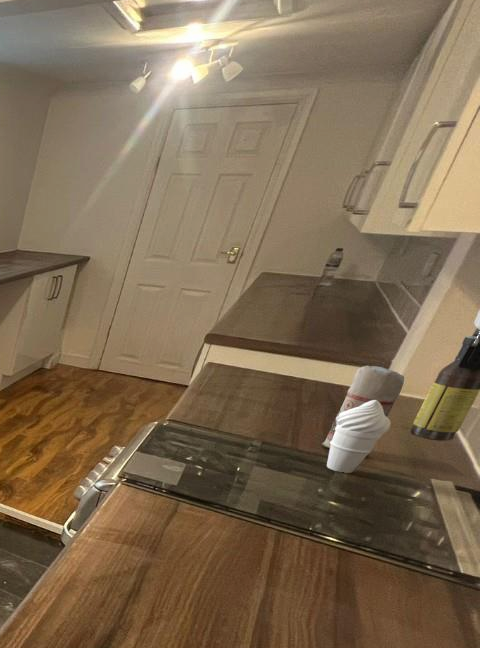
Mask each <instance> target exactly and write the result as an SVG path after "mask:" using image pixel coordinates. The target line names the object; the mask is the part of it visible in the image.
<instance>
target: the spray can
mask: <svg viewBox="0 0 480 648" xmlns="http://www.w3.org/2000/svg"><path fill="white" fill-rule="evenodd" d="M353 377H354V378H353V381H352V383H351V385H350V387H349V388H348V389H347V392H346V393H347V394H346V396H345V399H344V401H343V403H342V405H341V407H340V409H339V411H338V413H337V415H336V417H338V416H339V414H340V413H342V412H345V411H347V410H349V409H352V408H356V407H359V406H361V405H363V404H364V403H367V402H369V401H372V400H377V401H378V402H379V403H380V404H381V406H382V408H383V411H384V415H385V416H386V417H387V418H388V416H389V413H390V412H391V410H392V409H393V406H394V404H395V402H396V401H397V400H398V398H399V396H400V394H401V391H402V389H403V386H404V382H405V376H404V374H403V375H402V374H400V373H399V372H397V371H395V370H392V369H388V368H386V367H383V366H376V365H371V366H370V365H363V366H361V367H360V368H358V369H357V371H356V373H355V375H354V376H353ZM336 423H337V421H336V419H334V422H333V423H332V426H331V428H330V430H329V432H328V434H327V436H326V438H325V441H324V442H322V443H321V445H322V446H323V447H325V448H328V449H330V446H331V444H330V442H331V441H332V439H333V436H334V433H335V431H336V430H335V428H336V426H337V424H336Z"/></svg>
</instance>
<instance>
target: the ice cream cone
mask: <svg viewBox="0 0 480 648" xmlns="http://www.w3.org/2000/svg"><path fill="white" fill-rule="evenodd" d="M335 420H336V421H337V423H336V424H337V426H336V428H335V430H336V431H335V433H334V436H333V439H332V441H331V442H330V444H331V446H330V448H329V451H328V457H327V461H326V467H327V469H330V470H331V471H334V472H337V471H338V473H342V472H344V473H343V474H351V473H353V472H354V471H355V470H356V469H357V467H358V466H359V465H360V464H361V463H362V462H363V461H364V459H366V457H367V456H368V455H369V454H370V453H372V451H373V450H372V449H373V448H374V447H375V445H376V444H377V442H378V440H380V439H381V438H382V436H383V435H384V434H385V433H387V432H388V431H389V430H390V427H391V425H392V424H391V423H392V422H391V420H390V419H389V417H388V416H387V417H386V416H385V415H384V411H383V408H382V406H381V404H380V403H379V402H378V401H377V400H372V401H369V402H367V403H364V404H363V405H361V406H359V407H356V408H352V409H349V410H347V411H345V412H342V413H340V414H339V416H338V417H337V416H336V417H335Z"/></svg>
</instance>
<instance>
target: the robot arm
mask: <svg viewBox="0 0 480 648" xmlns="http://www.w3.org/2000/svg"><path fill="white" fill-rule="evenodd" d="M473 324H474V326H475V330H474V332H473V334H472V335H471V336H477V337H476V338H475V340H474V342H473V344H472V346H469V347H468V349H467V351H466V352H465V354H464V356H463V358H462V360H461V361H460V363H459V367H461V368H468V369H475V370H480V309H479V310H478V312H477V315H476V317H475V319H474V321H473Z"/></svg>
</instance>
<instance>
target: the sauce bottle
mask: <svg viewBox="0 0 480 648" xmlns="http://www.w3.org/2000/svg"><path fill="white" fill-rule="evenodd" d="M476 337H477V336H472V335H466V336H464V338H463V341H462V343H461V344H462V345H461V347H460V349H459V350H458V352H457V355H456V356H455V358H454V360H453V361H452V362H451V363H449V364H447V365H445V366H444V367H443V368H442V369H440V370H439V372H438V373H437V376H436V378H435V380H434V381H433V382H432V385H431V386H430V389H429V391H428V393H427V395H426V397H425V399H424V401H423V403H422V404H421V406H420V408H419V410H418V412H417V415H416V417H415V419H414V421H413V422H412V424H413V425H412V426H411V428H410V434H411V435H412V436H415V437H418V438H420V439H424V440H430V441H437V442H438V441H439V442H444V441H445V442H447V441H452V440H454V437H455V435H456V433H457V432H459V431H460V429H461V427H462V425H463V423H464V422H465V419H466V418H467V416H468V414H469V412H470V410H471V409H472V407H473V404H474V403H475V401H476V399H477V397H478V395H479V393H480V370H475V369H468V368H461V367H459V363H460V361H461V360H462V358H463V356H464V354H465V352H466V351H467V349H468V347H469V346H472V344H473V342H474V340H475V338H476Z"/></svg>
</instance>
